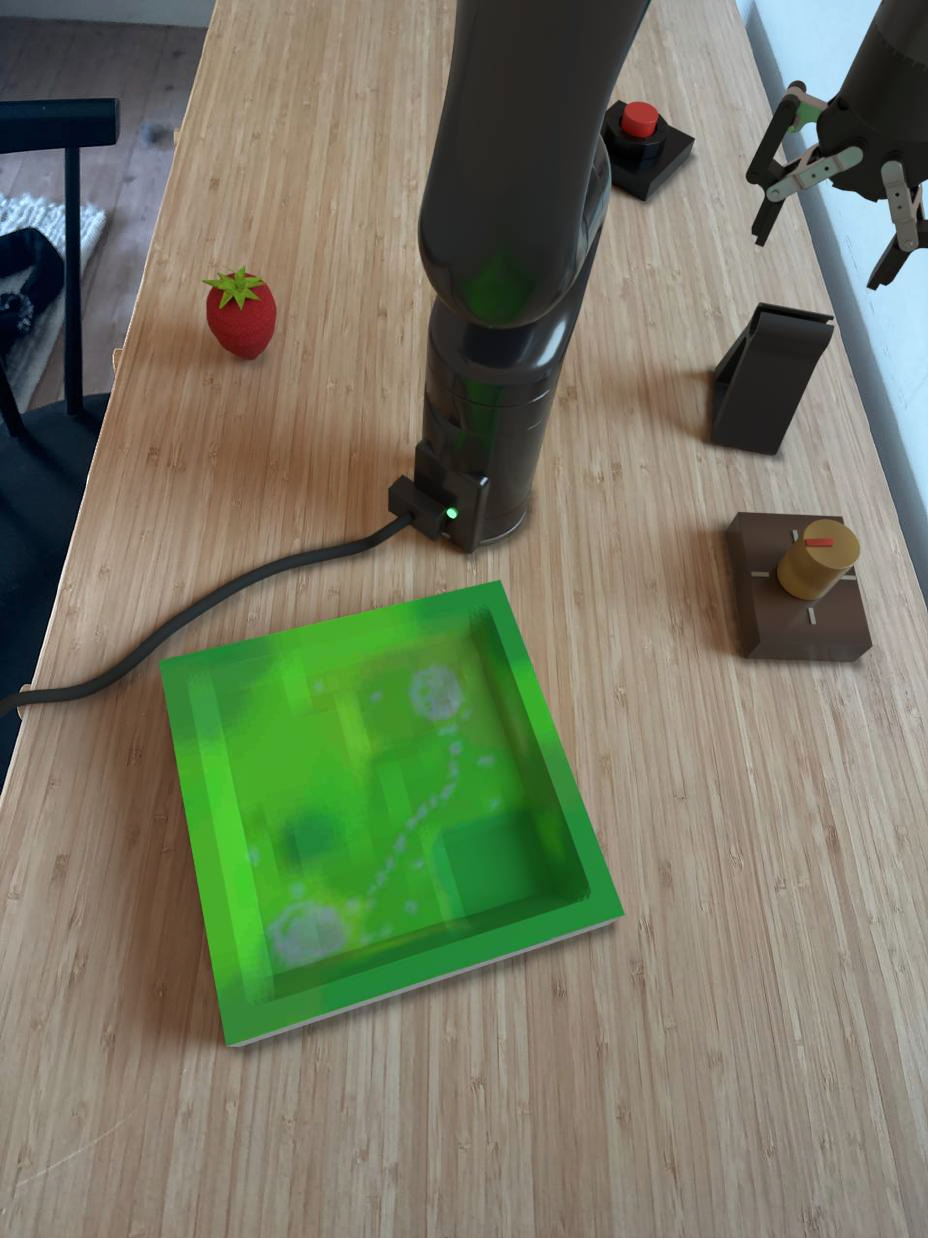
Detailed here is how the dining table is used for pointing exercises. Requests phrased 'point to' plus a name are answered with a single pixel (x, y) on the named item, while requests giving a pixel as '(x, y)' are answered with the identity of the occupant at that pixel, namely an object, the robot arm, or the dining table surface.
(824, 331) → the phone stand
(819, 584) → the lock knob
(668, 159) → the button block
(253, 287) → the strawberry
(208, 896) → the tray
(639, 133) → the button
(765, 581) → the lock plate
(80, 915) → the dining table surface
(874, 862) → the dining table surface
